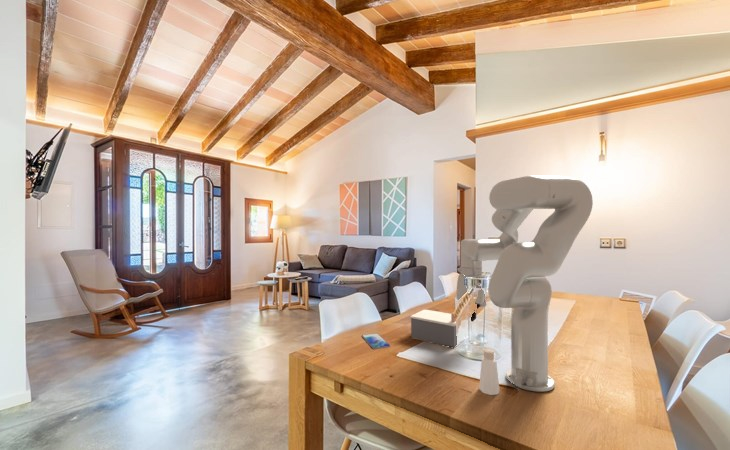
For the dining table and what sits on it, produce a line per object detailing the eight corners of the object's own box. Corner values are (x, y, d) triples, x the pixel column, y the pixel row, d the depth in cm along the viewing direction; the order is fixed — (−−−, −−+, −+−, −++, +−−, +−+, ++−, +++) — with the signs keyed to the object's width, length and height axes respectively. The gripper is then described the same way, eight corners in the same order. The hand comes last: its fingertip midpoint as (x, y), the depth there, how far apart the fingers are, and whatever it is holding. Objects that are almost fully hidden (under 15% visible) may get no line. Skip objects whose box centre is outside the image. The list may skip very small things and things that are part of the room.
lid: (454, 326, 117) (454, 316, 117) (410, 318, 128) (410, 308, 128) (466, 318, 127) (465, 308, 127) (424, 311, 138) (424, 302, 138)
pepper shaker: (491, 397, 84) (491, 356, 84) (474, 388, 88) (474, 349, 88) (504, 391, 87) (503, 351, 87) (486, 383, 91) (486, 345, 91)
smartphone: (377, 333, 134) (391, 345, 120) (377, 335, 134) (391, 348, 120) (361, 334, 132) (373, 347, 117) (361, 336, 132) (373, 350, 117)
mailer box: (454, 348, 118) (454, 326, 118) (411, 338, 128) (411, 318, 128) (465, 338, 127) (465, 318, 127) (424, 330, 138) (424, 311, 138)
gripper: (448, 271, 121) (448, 319, 121) (488, 274, 112) (489, 326, 112) (455, 269, 127) (456, 314, 127) (494, 272, 118) (495, 321, 118)
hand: (471, 320), depth 120 cm, fingers closed
